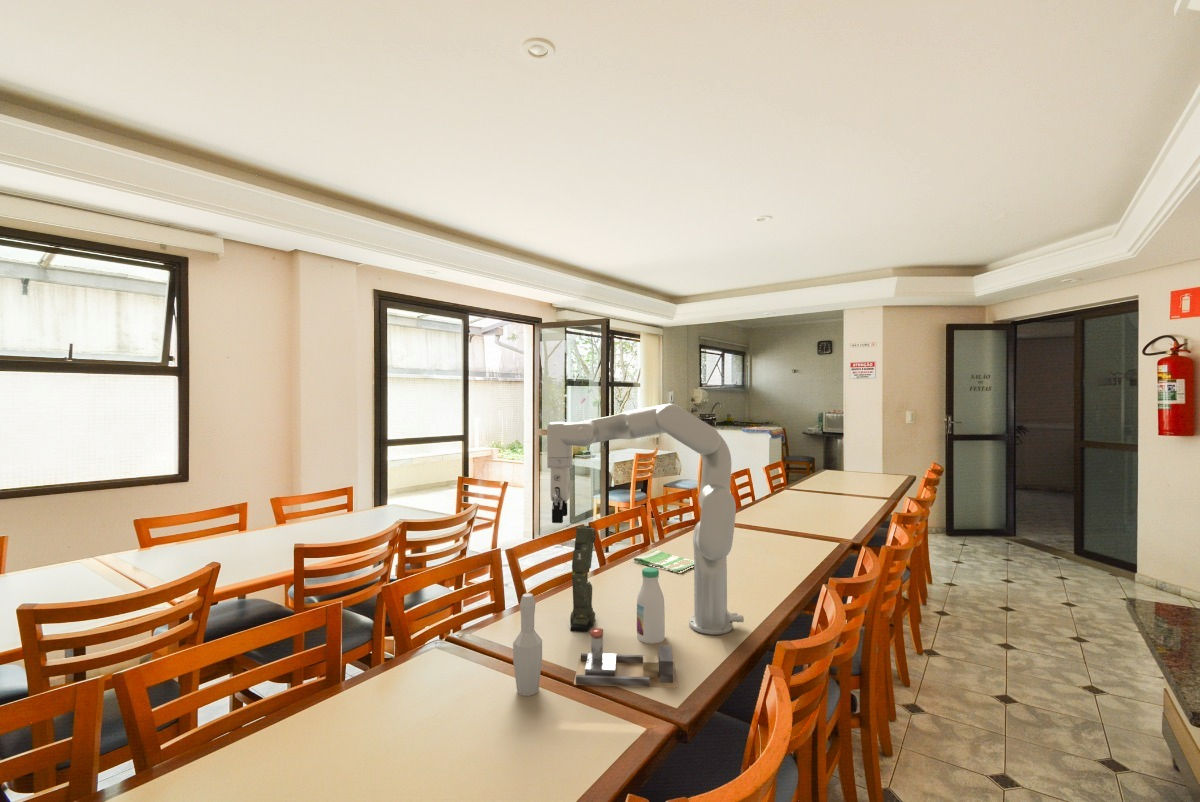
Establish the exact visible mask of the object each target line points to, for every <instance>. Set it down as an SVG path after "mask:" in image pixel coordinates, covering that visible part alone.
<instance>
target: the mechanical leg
mask: <svg viewBox="0 0 1200 802" xmlns="http://www.w3.org/2000/svg"><path fill="white" fill-rule="evenodd" d="M575 531H576V532H575V537H574V538H575V539H574V549H573V550H572V551H573V552H572V559H571V560H572V561H571V562H572V563H571V583H572V585H571V586H572V606H573V607H572V611H571V613H570V624H571V625H570V628H569V629H570V632H574V633H575V632H577V633H587V632H589V630H591V629H592V626H594V625H595V619H596V612H595V611H594V608H593V584H592V583H591V581H588V576H589V574H588V572H589V571H590V569H592V562H593V561H592V559H593V551H594V543H595V541H596V537H597V536H596V533H597V532H596V529H595V528H594V527H591V525H577V526H576V530H575Z"/></svg>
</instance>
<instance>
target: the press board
mask: <svg viewBox="0 0 1200 802" xmlns="http://www.w3.org/2000/svg"><path fill="white" fill-rule="evenodd" d="M615 654H616V673H615V676H599V675H585V667H586V662H587V657H588V653H580V658H579V659H578V664H577V668H576V671H575V676H574V681H573V685H575V686H577V685H578V686H606V687H607V686H608V687H609V686H610V687H635V688H636V687H638V688H664V689H665V688H668V689H669V688H670V689H673V688H674V689H679V684H678V679H677V677H678V676H677V672H676V665H675V662H674V660H673V652H672V646H671V645H666V644H665V645H663V644H662V645H658V677H643V655H644V654H621V653H619V654H617V653H615Z"/></svg>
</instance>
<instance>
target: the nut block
mask: <svg viewBox="0 0 1200 802" xmlns="http://www.w3.org/2000/svg"><path fill="white" fill-rule="evenodd" d="M642 655H643V677H658V662H659V655H650V654H649V655H647V654H646V655H645V654H642Z"/></svg>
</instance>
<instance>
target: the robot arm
mask: <svg viewBox="0 0 1200 802" xmlns="http://www.w3.org/2000/svg"><path fill="white" fill-rule="evenodd" d="M546 429H547V430H546V451H547V452H546V453H547V454H546V457H547V458H546V459H547V462H546V463H547V465H546V466H547V469H550V501H551V502H552V503H551V505H552V507H551V523H552V524H563V522H564V517H567V516H568V501H569V500H570V498H571V476H570V475H571V474H570V473H571V472H570V469H572V468H573V446H576V447H582V448H586V447H589V446H591V445H592V444H596V443H601V442H606V441H607V442H608V441H612V440H613V441H614V440H635V439H640V438H645V437H651V436H656V435H662V434H667V435H668V436H670V437H672V438H673V439H675V440H676V441H677V442H680V443H681V444H683V445H684V446H686V447H688V448H689V449H691V450H693V451H694V452H695V453H697V454H699V455H700V457H701V464H702V465H701V479H700V480H701V481H700V487H699V495H698V504H699V507H700V519H699V521H698V522H697V523H696V525H695V526H694V528H693V532H692V533H693V534H692V543H693V544H692V545H693V560H694V568H693V569H694V571H693V573H694V574H693V577H694V578H693V580H694V583H693V584H694V585H693V586H694V587H693V590H694V591H693V592H694V593H693V595H694V596H693V597H694V599H693V600H694V601H693V603H694V604H693V605H694V606H693V607H694V615H693V616H691V617H690V618H689V620H688V624H689V627H690V628H691V629H692V630H694V631H696V632H698V633H700V634H705V635H713V636H714V635H718V636H719V635H724V634H727V633H730V632H731V631H732V630H733V625H734V624H733V623H735V622H736V623H744V620H745V619H744V617H745V616H744V614H743V615H740V614H738V612H730V611H728V578H727V577H728V562H727V561H728V560H727V559H728V558H727V557H728V555H730V553H731V551H732V547H733V542H734V534H735V526H736V525H735V524H736V512H737V504H736V500H735V497H734V496H733V494H732V493H731V480H732V456H731V455H732V454H731V451H730V449H729V446H728V444H727V442H726V441H725V439H724V438H723V437H722V435H720V433H719V432H718V430H717V429H716V428H715V427H714V426H712V425H711V424H709V423H707V422H706V421H703V420H702V419H700V418H699V417H697V416H695V415H693V414H692V413H691V412H689V411H687V410H686V409H684V408H683V407H681V406H680V405H678V404H676V403H664V404H659V405H654V406H648V407H644V408H638V409H633V410H631V409H630V410H626V411H622V412H621V413H617V414H613V415H610V416H609V415H608V416H604V417H599V418H593V419H586V420H583V421H578V422H568V421H552V422H549V423H548V424H547V426H546Z"/></svg>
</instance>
